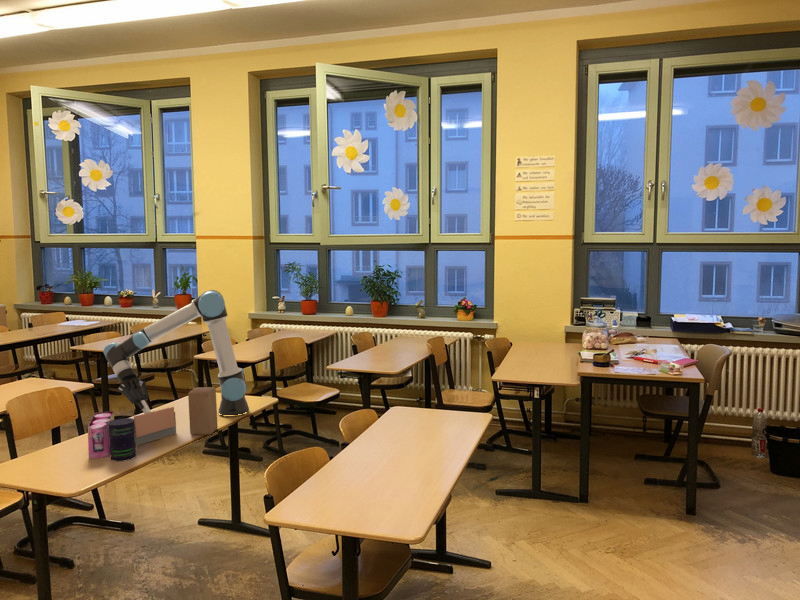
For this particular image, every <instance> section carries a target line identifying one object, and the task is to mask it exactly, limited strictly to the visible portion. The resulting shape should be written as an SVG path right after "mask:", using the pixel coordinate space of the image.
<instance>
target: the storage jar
mask: <svg viewBox="0 0 800 600" xmlns="http://www.w3.org/2000/svg"><path fill="white" fill-rule="evenodd" d="M108 425H109V429H108V431H109V437H110V455H109V457H110V461H113V462H125V461H124V460H126V461H129V460H132V459H134V458H136V457H137V446H136V442H135V436H134V434H135V426H134V418H130V417H124V418H123V417H122V418H116V419H114V420H112V421H110V422H109V423H108Z"/></svg>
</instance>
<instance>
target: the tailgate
mask: <svg viewBox="0 0 800 600" xmlns="http://www.w3.org/2000/svg"><path fill="white" fill-rule="evenodd" d="M174 412H175V406H169V407H165V408H162V409H158V410H155V411H151V412H149V413H146V414H144V413H142V414H138V415H135V416H133V419H134V426H135V437H136V438H137V437H140V436H143V435H147V434H150V433H154V432H157V431H160V430H164V429H167V428H171V427H174V426H175V418H176V417H175V418H174Z"/></svg>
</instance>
